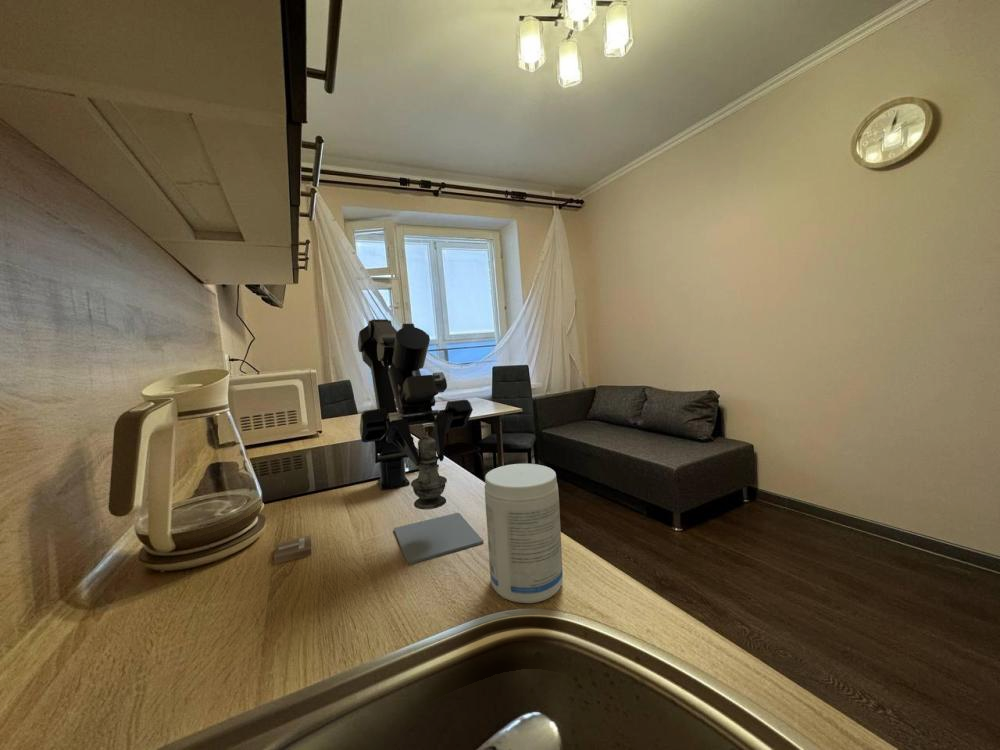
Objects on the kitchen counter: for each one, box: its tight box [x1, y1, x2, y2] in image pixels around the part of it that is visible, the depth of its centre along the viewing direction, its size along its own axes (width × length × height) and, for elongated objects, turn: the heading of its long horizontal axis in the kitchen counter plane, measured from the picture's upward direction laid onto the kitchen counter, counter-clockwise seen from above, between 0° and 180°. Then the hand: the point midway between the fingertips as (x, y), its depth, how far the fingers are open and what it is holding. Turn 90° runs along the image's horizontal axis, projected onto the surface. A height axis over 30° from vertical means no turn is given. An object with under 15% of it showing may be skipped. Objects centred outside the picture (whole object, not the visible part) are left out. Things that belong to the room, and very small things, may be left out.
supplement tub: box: [484, 463, 564, 604], centre depth 49 cm, size 10×10×15 cm
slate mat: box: [393, 512, 484, 565], centre depth 63 cm, size 12×12×1 cm
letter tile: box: [273, 534, 312, 565], centre depth 60 cm, size 5×5×2 cm
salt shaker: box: [410, 431, 448, 510], centre depth 61 cm, size 6×6×12 cm
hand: (430, 462), depth 60 cm, fingers closed on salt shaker, 4 cm apart
